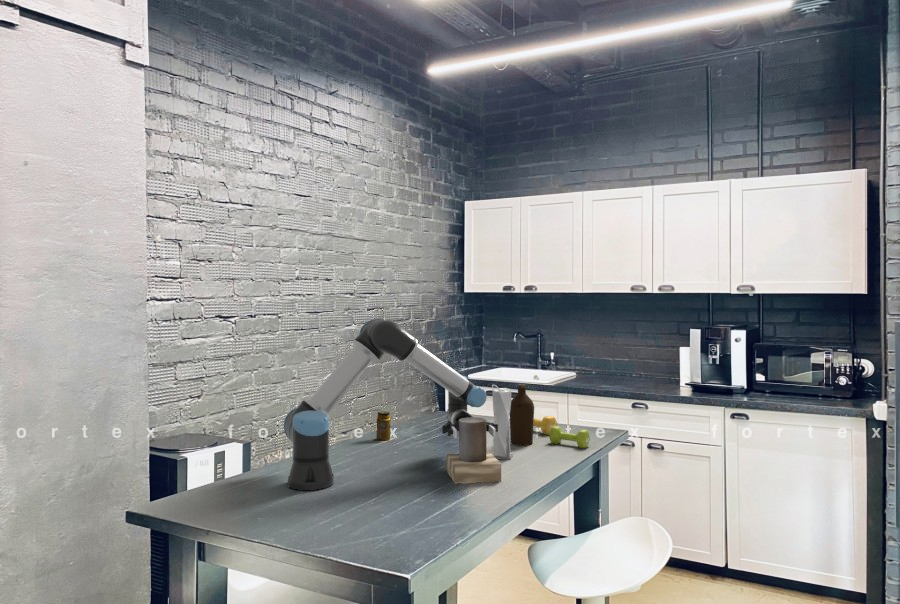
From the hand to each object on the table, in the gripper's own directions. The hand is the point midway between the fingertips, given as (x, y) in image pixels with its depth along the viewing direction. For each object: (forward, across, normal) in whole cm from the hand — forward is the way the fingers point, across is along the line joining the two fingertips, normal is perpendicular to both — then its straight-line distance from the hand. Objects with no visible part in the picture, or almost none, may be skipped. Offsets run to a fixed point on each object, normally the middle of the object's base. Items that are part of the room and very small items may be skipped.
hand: (475, 433), depth 218 cm
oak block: (-3, 0, -16) cm, 16 cm away
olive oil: (-47, -31, -16) cm, 59 cm away
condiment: (-63, +27, -16) cm, 70 cm away
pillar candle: (-3, 0, -10) cm, 10 cm away
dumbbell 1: (-68, -45, -16) cm, 83 cm away
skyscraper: (-27, -17, -16) cm, 36 cm away
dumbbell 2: (-40, -50, -16) cm, 66 cm away
